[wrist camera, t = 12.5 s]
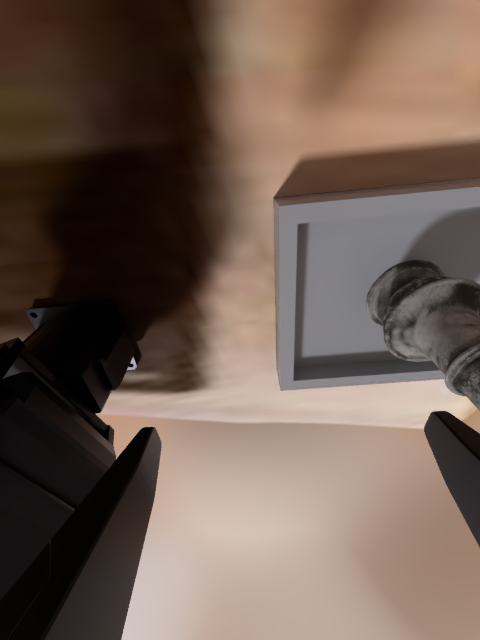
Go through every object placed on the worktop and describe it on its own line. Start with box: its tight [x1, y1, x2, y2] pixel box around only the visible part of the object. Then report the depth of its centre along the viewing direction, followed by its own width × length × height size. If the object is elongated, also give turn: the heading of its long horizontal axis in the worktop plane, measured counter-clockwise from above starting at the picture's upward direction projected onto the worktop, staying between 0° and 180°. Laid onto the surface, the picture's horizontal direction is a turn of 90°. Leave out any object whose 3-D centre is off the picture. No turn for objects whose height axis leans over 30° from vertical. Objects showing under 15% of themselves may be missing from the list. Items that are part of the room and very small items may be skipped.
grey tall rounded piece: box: [366, 260, 480, 410], centre depth 14 cm, size 6×6×12 cm
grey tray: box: [273, 178, 480, 391], centre depth 19 cm, size 16×14×2 cm
